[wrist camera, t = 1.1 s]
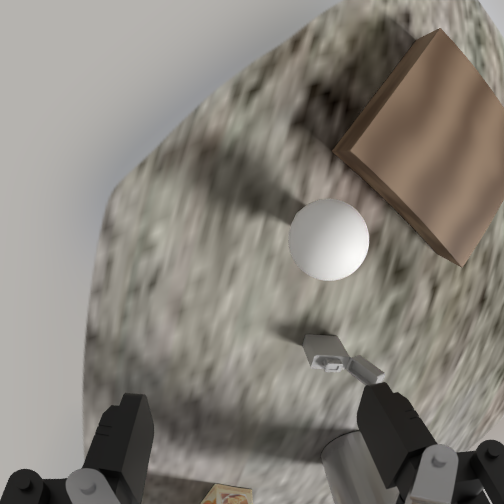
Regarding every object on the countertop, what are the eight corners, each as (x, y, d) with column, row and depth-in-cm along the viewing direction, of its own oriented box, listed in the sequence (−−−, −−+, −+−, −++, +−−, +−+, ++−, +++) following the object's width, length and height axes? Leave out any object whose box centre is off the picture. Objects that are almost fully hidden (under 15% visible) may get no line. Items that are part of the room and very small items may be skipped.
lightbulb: (333, 247, 32) (379, 288, 22) (274, 251, 32) (298, 298, 21) (333, 187, 30) (384, 204, 20) (272, 189, 30) (296, 207, 20)
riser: (501, 146, 30) (528, 149, 25) (437, 254, 33) (462, 267, 29) (416, 40, 26) (440, 28, 21) (331, 151, 29) (350, 150, 25)
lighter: (301, 346, 35) (319, 390, 28) (305, 333, 35) (324, 377, 27) (356, 349, 36) (381, 390, 29) (360, 337, 36) (387, 377, 28)
